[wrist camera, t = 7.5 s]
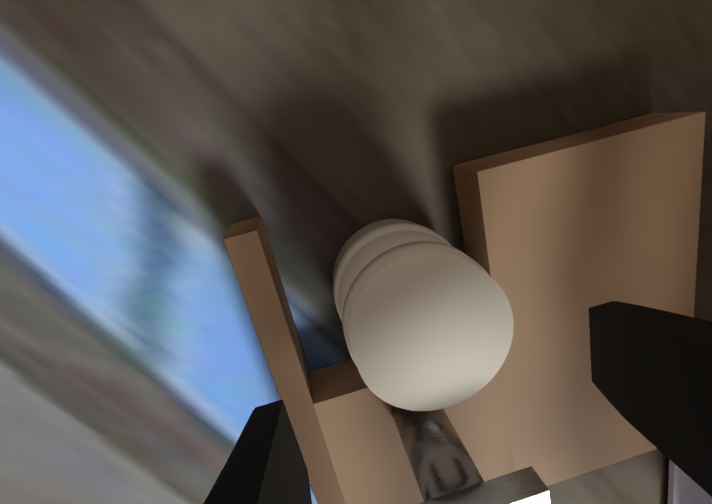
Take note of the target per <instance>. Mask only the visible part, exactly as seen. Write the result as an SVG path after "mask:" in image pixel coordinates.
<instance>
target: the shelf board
mask: <svg viewBox="0 0 712 504" xmlns="http://www.w3.org/2000/svg"><path fill="white" fill-rule="evenodd" d="M705 115H706V112H671V113H652V114H648V115H644V116H640V117H636V118H633V119H629V120H625V121H621V122H617V123H613V124H610V125H606V126H602V127H598V128H594V129H591V130H587V131H583V132H579V133H575V134H571V135H568V136H564V137H560V138H556V139H552V140H549V141H545V142H541V143H537V144H533V145H529V146H526V147H522V148H518V149H514V150H510V151H507V152H503V153H499V154H495V155H491V156H487V157H484V158H480V159H476V160H472V161H468V162H465V163H461V164H457V165H453V172H454V179H455V186H456V193H457V200H458V206H459V213H460V220H461V227H462V234H463V240H464V247H465V254H466V255H467V256H469V257H470V258H472V259H473V260H474V261H476V262H477V263H478V264H479V265H480V266H481V267H482V268H483V269H484V270H485V271H486V272H487V273H488V275H489V276H490V277H491V278H492V279H493V280H494V281H495V282H496V283H498V285H499V286H500V287H501V288H502V290H503V291H504V293H505V295H506V296H507V298H508V300H509V303H510V306H511V309H512V314H513V323H514V329H513V338H512V342H511V346H510V349H509V352H508V355H507V357H506V359H505V361H504V363H503V364H502V366H501V368H500V369H499V371H498V372H497V373H496V375H495V376H494V377H493V378H492V379H491V380H490V381H489V382H488V383H487V384H486V385H485V386H484V387H483V388H482V389H481V390H480V391H478V392H477V393H476V394H474V395H473V396H471V397H469V398H468V399H466V400H464V401H462V402H460V403H458V404H455V405H453V406H450V407H446V408H444V410H445V412H446V414H447V415H448V417H449V419H450V421H451V423H452V424H453V426H454V428H455V430H456V432H457V433H458V435H459V437H460V439H461V441H462V442H463V444H464V446H465V448H466V450H467V451H468V453H469V455H470V457H471V459H472V460H473V462H474V464H475V466H476V468H477V469H478V471H479V473H480V475H481V476H482V478H483V480H484V482H485V481H488V480H491V479H494V478H497V477H500V476H503V475H506V474H509V473H512V472H515V471H518V470H521V469H524V468H527V467H530V466H532V467H533V469H534V470H535V471H536V473H537V474H538V475H539V477H540V478H541V480H542V481H543V482H544V484H545V485H546V486H549V485H552V484H555V483H558V482H561V481H564V480H567V479H569V478H572V477H575V476H578V475H581V474H584V473H587V472H590V471H593V470H596V469H599V468H602V467H605V466H608V465H611V464H614V463H617V462H620V461H623V460H625V459H628V458H631V457H634V456H637V455H640V454H643V453H646V452H649V451H652V450H655V449H657V448H656V447H655V446H654V445H653V444H652V443H651V442H650V441H648V440H647V439H646V438H645V437H644V436H643V435H642V434H641V433H640V432H639V431H637V430H636V429H635V428H634V427H633V426H632V425H631V424H630V423H629V422H628V421H627V420H626V419H624V417H623V416H622V415H621V414H620V413H619V412H618V411H617V410H616V409H615V408H614V406H613V405H612V404H611V403H610V402H609V401H608V400H607V399H606V397H605V396H604V395H603V394H602V393H601V392H600V390H599V389H598V388H597V387H596V386H595V384H594V383H593V382H592V375H591V353H590V330H589V308H591V307H594V306H597V305H601V304H604V303H607V302H611V301H617V302H624V303H630V304H635V305H640V306H645V307H650V308H654V309H659V310H663V311H668V312H672V313H677V314H681V315H685V316H690V317H694V304H695V287H696V270H697V253H698V235H699V218H700V201H701V184H702V166H703V149H704V132H705ZM224 242H225V245H226V248H227V251H228V253H229V256H230V259H231V262H232V265H233V267H234V270H235V273H236V276H237V279H238V282H239V284H240V287H241V290H242V293H243V296H244V298H245V301H246V304H247V307H248V310H249V312H250V315H251V318H252V321H253V324H254V326H255V329H256V332H257V335H258V338H259V340H260V343H261V346H262V349H263V352H264V354H265V357H266V360H267V363H268V366H269V368H270V371H271V374H272V377H273V380H274V383H275V385H276V388H277V391H278V394H279V397H280V399H281V400H283V402H284V405H285V407H286V410H287V413H288V416H289V419H290V422H291V425H292V427H293V430H294V433H295V436H296V439H297V442H298V444H299V447H300V450H301V453H302V456H303V459H304V461H305V464H306V467H307V470H308V477H309V481H310V484H311V486H312V489H313V492H314V495H315V498H316V500H317V503H318V504H419V503H422V502H424V500H423V498H422V495H421V492H420V490H419V487H418V484H417V481H416V479H415V476H414V473H413V470H412V468H411V465H410V462H409V460H408V457H407V454H406V451H405V449H404V446H403V443H402V441H401V438H400V435H399V432H398V430H397V427H396V424H395V422H394V419H393V416H392V408H393V405H391V404H389V403H387V402H385V401H383V400H382V399H380V398H379V397H377V396H376V395H375V394H374V393H373V392H372V391H371V390H370V389H369V388H368V386H367V385H366V384H365V383H364V381H363V379H362V377H361V375H360V373H359V370H358V368H357V366H356V365H355V363H354V361H353V359H350V360H347V361H343V362H340V363H337V364H333V365H330V366H327V367H323V368H320V369H316V370H313V371H310V370H309V367H308V364H307V361H306V358H305V354H304V351H303V348H302V345H301V342H300V339H299V336H298V332H297V329H296V326H295V323H294V320H293V317H292V314H291V310H290V307H289V304H288V301H287V298H286V295H285V292H284V288H283V285H282V282H281V279H280V276H279V273H278V269H277V266H276V263H275V260H274V257H273V254H272V251H271V247H270V244H269V241H268V238H267V235H266V232H265V229H264V225H263V222H262V219H261V216H258V217H254V218H251V219H247V220H243V221H239V222H235V223H232V224H231V226H230V228H229V230H228V231H227V233H226V235H225V237H224Z"/></svg>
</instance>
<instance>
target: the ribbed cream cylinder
mask: <svg viewBox="0 0 712 504" xmlns="http://www.w3.org/2000/svg"><path fill="white" fill-rule="evenodd" d="M333 296H334V300H335V304H336V308H337V312H338V314H339V317H340V319H341V321H342V326H343V332H344V336H345V340H346V343H347V347H348V350H349V353H350V355H351V358H352V359H353V361H354V363H355V365H356V366H357V368H358V370H359V373H360V375H361V377H362V379H363V381H364V383H365V384H366V385H367V386H368V388H369V389H370V390H371V391H372V392H373V393H374V394H375V395H376V396H377V397H379V398H380V399H382V400H383V401H385V402H387V403H389V404H391V405H393V406H395V407H398V408H401V409H406V410H411V411H432V410H438V409H443V408H446V407H450V406H453V405H455V404H458V403H460V402H462V401H464V400H466V399H468V398H469V397H471V396H473V395H474V394H476V393H477V392H478V391H480V390H481V389H482V388H483V387H484V386H485V385H486V384H487V383H488V382H489V381H490V380H491V379H492V378H493V377H494V376H495V375H496V373H497V372H498V371H499V369H500V368H501V366H502V364H503V363H504V361H505V359H506V357H507V355H508V352H509V349H510V346H511V342H512V338H513V329H514V323H513V314H512V309H511V306H510V303H509V300H508V298H507V296H506V295H505V293H504V291H503V290H502V288H501V287H500V286H499V285H498V283H496V282H495V281H494V280H493V279H492V278H491V277H490V276H489V275H488V273H487V272H486V271H485V270H484V269H483V268H482V267H481V266H480V265H479V264H478V263H477V262H476V261H474V260H473V259H472V258H470V257H469V256H467V255H466V254H464V253H463V252H462V251H460V250H458V249H456V248H454V247H452V245H451V244H450V243H448V242H447V241H446V240H445V239H444V238H442V237H441V236H440V235H438V234H437V233H435V232H434V231H432V230H431V229H429V228H427V227H425V226H422V225H419V224H417V223H414V222H411V221H408V220H403V219H384V220H380V221H376V222H373V223H370V224H368V225H366V226H364V227H363V228H361V229H360V230H358V231H357V232H355V233H354V234H353V235H352V236H351V237H350V238H349V239H348V240H347V241H346V242H345V244H344V245H343V247H342V248H341V250H340V252H339V254H338V256H337V258H336V261H335V264H334V269H333Z"/></svg>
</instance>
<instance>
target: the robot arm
mask: <svg viewBox="0 0 712 504" xmlns="http://www.w3.org/2000/svg"><path fill="white" fill-rule="evenodd" d="M589 330H590V353H591V375H592V382H593V383H594V384H595V386H596V387H597V388H598V389H599V390H600V392H601V393H602V394H603V395H604V396H605V397H606V399H607V400H608V401H609V402H610V403H611V404H612V405H613V406H614V408H615V409H616V410H617V411H618V412H619V413H620V414H621V415H622V416H623V417H624V419H626V420H627V421H628V422H629V423H630V424H631V425H632V426H633V427H634V428H635V429H636V430H637V431H639V432H640V433H641V434H642V435H643V436H644V437H645V438H646V439H647V440H648V441H650V442H651V443H652V444H653V445H654V446H655V447H656V448H657V449H658V450H660V451H661V452H662V453H663V454H664V455H665V456H666V457H667V458H669V481H668V504H712V322H711V321H707V320H703V319H698V318H694V317H690V316H685V315H681V314H677V313H672V312H668V311H663V310H659V309H654V308H650V307H645V306H640V305H635V304H630V303H624V302H617V301H611V302H607V303H604V304H601V305H597V306H594V307H591V308H589ZM204 504H312V501H311V493H310V485H309V477H308V470H307V467H306V464H305V461H304V459H303V456H302V453H301V450H300V447H299V444H298V442H297V439H296V436H295V433H294V430H293V427H292V425H291V422H290V419H289V416H288V413H287V410H286V407H285V405H284V402H283V400H279V401H276V402H273V403H269V404H266V405H263V406H259V407H256V408H255V409H254V410H253V412H252V414H251V416H250V418H249V419H248V421H247V423H246V425H245V427H244V429H243V431H242V433H241V435H240V437H239V439H238V441H237V443H236V445H235V447H234V449H233V451H232V453H231V455H230V456H229V458H228V460H227V462H226V464H225V466H224V468H223V469H222V471H221V473H220V475H219V477H218V479H217V480H216V482H215V484H214V486H213V488H212V489H211V491H210V493H209V495H208V497H207V498H206V500H205V502H204Z"/></svg>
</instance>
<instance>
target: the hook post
mask: <svg viewBox="0 0 712 504" xmlns="http://www.w3.org/2000/svg"><path fill="white" fill-rule="evenodd" d="M392 416H393V419H394V422H395V424H396V427H397V430H398V432H399V435H400V438H401V441H402V443H403V446H404V449H405V451H406V454H407V457H408V460H409V462H410V465H411V468H412V470H413V473H414V476H415V479H416V481H417V484H418V487H419V490H420V492H421V495H422V498H423V500H424V502H422V503H419V504H550V493H549V489H548V488H547V487H546V485H545V484H544V482H543V481H542V480H541V478H540V477H539V475H538V474H537V473H536V471H535V470H534V469H533V467H532V466H530V467H527V468H524V469H521V470H518V471H515V472H512V473H509V474H506V475H503V476H500V477H497V478H494V479H491V480H488V481H485V482H484V480H483V478H482V476H481V475H480V473H479V471H478V469H477V468H476V466H475V464H474V462H473V460H472V459H471V457H470V455H469V453H468V451H467V450H466V448H465V446H464V444H463V442H462V441H461V439H460V437H459V435H458V433H457V432H456V430H455V428H454V426H453V424H452V423H451V421H450V419H449V417H448V415H447V414H446V412H445V410H444V408H443V409H438V410H432V411H411V410H406V409H401V408H398V407H395V406H393V408H392Z"/></svg>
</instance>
